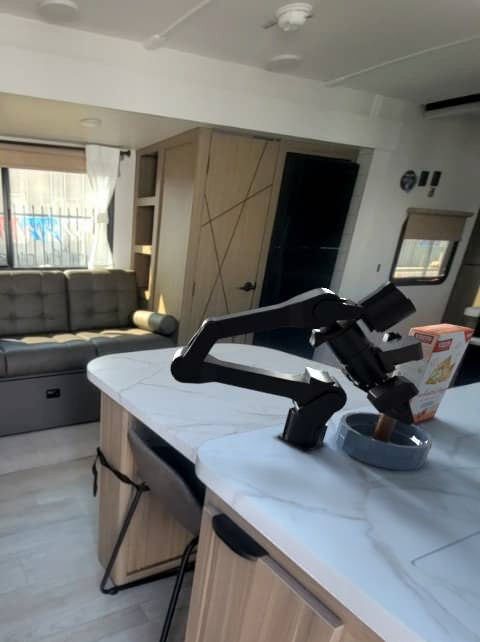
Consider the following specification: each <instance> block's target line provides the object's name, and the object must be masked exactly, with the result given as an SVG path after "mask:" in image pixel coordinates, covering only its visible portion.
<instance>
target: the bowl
mask: <svg viewBox="0 0 480 642" xmlns="http://www.w3.org/2000/svg"><path fill="white" fill-rule="evenodd" d="M380 416H381V414H378V412H370V411H352V412H348V413H347V412H346V413H344V414H343V415H342V416H341V418H340V419H339V423H338V426H337V429H336V432H335V436H334V441H335V444H336V445H337V446H338V447H339V449H341V450H342V451H343V452H344V453H345V454H347V455H348V456H350V457H351V458H353V459H354V460H355V459H356V460H357V461H360V462H362V463H364V464H367V465H371V466H373V467H378V468H382V469H387V470H392V471H393V470H394V471H408V470H414V469H418V468H419V467H421V466H423V465H424V463H425V462H426V460H427V458H428V455H429V452H430V450H431V448H432V446H433V443H434V438H433V436H431V434H430V433H429V432H428V431H426V430H425V429H424V428H422V427H420V426H418V425H416V424H415V423H413V424H412V425H409V426H408V425H406V424H404V423H402V422H400V421H398V420H397V421H396V424H395V426H394V429H393V431H392V434H391V436H390V439H389V441H390V442H392V443H393V444H390V443H386V442H382V441H379V440H375V439H372V438H370V437H368V436H373V435H374V432H375V429H376V427H377V424H378V422H379V419H380Z"/></svg>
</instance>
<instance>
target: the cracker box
mask: <svg viewBox="0 0 480 642" xmlns="http://www.w3.org/2000/svg"><path fill="white" fill-rule="evenodd" d="M474 333H475V329H474V328H470V327H466V326H461V325H455V324H451V323H440V324H439V323H438V324H433V325H432V324H431V325H425V326H418V327H411V328H410V330H409V333H408V334H407V335H408V336H414V337H416V338H418V339H420V340H421V342H422V349H423V356H424V358H423V359H421V360H418V361H411V362H407V363H403V364H400V365H395V368H396V370H395V371H393V372H392V376H391V378H392V377H393V376H395V375H397V376H404V377H406V378H407V379H408V380H410V381H411V382H412V383H414V385H415V386H416V388H417V389H418V390H419V393H418V395H416V396H415V397H413V398H411V399H410V406H411V410H412V413H413V417H414V420H415V423H414V424H416V423H419V422H422V421H425V420H429V419H432V418H434V417H435V415H436V414H437V411H438V409H439V407H440V405H441V403H442V400H443V398H444V396H445V395H446V392H447V390H448V388H449V385H450V384H451V381H452V380H453V377H454V375H455V373H456V370H457V368H458V366H459V364H460V362H461V360H462V358H463V356H464V354H465V351H466V349H467V347H468V345H469V343H470V340H471V338H472V336H473V334H474ZM377 414H382V413H379V412H377Z"/></svg>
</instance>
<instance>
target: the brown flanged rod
mask: <svg viewBox="0 0 480 642" xmlns="http://www.w3.org/2000/svg"><path fill="white" fill-rule="evenodd" d="M396 421H397V420H396V419H394V418H392V417H390V416H388V415H386V414H384V413H382V414H381V416H380V419H379V422H378V424H377V427H376V429H375V432H374V435H373V436H368V437H370V438H372V439H375V440H379V441H382V442H386V443H390V444H393V443H392V442H390V441H389V439H390V436H391V434H392V431H393V429H394V426H395V424H396Z"/></svg>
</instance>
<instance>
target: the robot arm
mask: <svg viewBox="0 0 480 642" xmlns="http://www.w3.org/2000/svg"><path fill="white" fill-rule="evenodd" d="M416 313H417V309H416V306H415V305H414V303H413V302H412V300H411V298H409V297H407V296H406V295H405V294H404V293H403V292H402V291H401V290H400V289H399V288H398V287H397V286H396V284H394V282H392V281H389V280H386V281H385V282H383V283H382V284H381V285H379V286H378V287H377V288H376V289H375V290H373V291H372V292H370V293H369V294H368V295H366V296H364V297H363V298H361V299H360V300H358V301H357V302H356V301H354V300H352V299H350V298H348V299H346V298H341V297H340V296H339V295H338V294H337V293H336V294H335V293H334V292H333V291H331V290H329V289H327V288H323V287H317V288H314V289H311V290H309V291H305V292H304V293H301V294H298V295H296V296H293V297H291V298H290V299H288V300H286V301H283V302H281V303H278V304H273V305H268V306H263V307H259V308H254V309H249V310H243V311H238V312H234V313H230V314H229V313H228V314H225V315H221V316H210V317H206V319H204V320H203V322H202V324H201V326H200V328H199V329H198V330H197V332H196V333H195V334H194V335H193V337H192V338H191V339H190V340H189V342H188V343H187V345H186V346H183V347H180V348H179V349H178V350H177V351H176V352H175V353H174V356H173V359H172V361H171V364H170V368H169V369H170V375H171V376H172V378H173V379H174V381H176V382H178V383H181V384H188V385H189V384H192V385H203V384H209V383H216V384H222V385H226V386H231V387H236V388H240V389H245V390H250V391H254V392H260V393H264V394H267V395H268V394H269V395H273V396H278V397H282V398H287V399H290V400H291V401H292V404H293V406H292V407H290V408H288V412H287V415H286V418H285V423H284V426H283V430H282V433H279V434H277V439H279V440H281V441H284V442H286V443H288V444H290V445H292V446H294V447H296V448H298V449H300V450H302V451H304V452H309V451H310V450H313V449H315V448H317V447H320V446H322V445H324V444H325V437H326V434H327V431H328V428H329V426H328V424H327V423H328V422H329V421H330V419H332V417H333V415H335V414H336V413H338V412H340V411H341V410H342V409H343V408H344V407H345V406H346V405H347V401H348V394H347V393H346V391H345V389H344V388H343V387H342V385H341V384H340V382H339V380H337V379H336V377H335V376H333V375H331V374H330V372H329V371H328V370H317V369H313V368H312V367H307V366H306V367H305V368H304V373H300V374H289V373H284V372H280V371H275V370H271V369H265V368H260V367H256V366H250V365H246V364H241V363H235V362H231V361H226V360H222V359H219V358H217V357H215V356H214V355H212V354H210V352H211V350H212V349H213V348H214V346H215V345H216V343H217V342H218V341H219V340H222V339H227V338H234V337H239V336H244V335H249V334H254V333H255V334H256V333H259V332H265V331H270V330H275V329H280V328H299V329H300V328H301V329H312V330H311V335H310V338H309V343H310V345H311V346H312V348H314V349H316V348H318V347H320V346H322V345H323V344H325V346H326V347H327V348H328V349H329V351H331V353H332V354H333V356H334V358H335V359H336V361H337V362H338V364H339V365H340V366H341V369H340V372H341V374H343V376H344V377H345V378H346V379H347V380H348V382H349V383H351V385H353V387H354V386H355V387H356V388H357V389H359V390H361V391H363V392H364V393H365V394H367V395H366V399H367V400H368V401H369V403H370V404H371V405H372V407H373V408H374V409H376V411H378V412H379V413H384V414H386V415H388V416H390V417H392V418H394V419H396V420H398V421H400V422H402V423H404V424H406V425H408V426H409V425H412V424H416V423H415V420H414V417H413V413H412V410H411V406H410V399H411V398H413V397H415V396H416V395H418V393H419V390H418V389H417V388H416V386H415V385H414V383H412V382H411V381H410V380H408V379H407V378H406V377H404V376H397V375H395V376H393V375H392V376H393V377H392V376H391V377H390V375H388V374H391V373H394V371H395V370H396V366H397V365H400V364H403V363H407V362H411V361H418V360H421V359H423V358H424V356H423V349H422V342H421V340H420V339H418V338H416V337H414V336H408V335H409V334H403V335H401V334H400V333H399V332H397V331H396V330H390V329H391V328H393V327H394V326H396V325H397V324H399V323H401V322H403V321H404V320H406V319H407V318H410V317H412V315H415V314H416ZM358 322H360V323H361V324H362V326H363V327H364V328H365V329H366V331H368V333H370V334H371V333H374V332H376V334H378V333H379V334H383V333H384V335H383V337H382V340H381V341H380V342H379V344H376V345H375V344H374V342H372V341H371V339H369V337H368V336H367V334H366V333H365V332H364V330H363V329H362V327H361V326H360V325H359V324H358ZM315 328H317V329H315ZM318 328H321V329H318ZM388 330H390V331H388ZM378 412H377V413H378Z"/></svg>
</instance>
